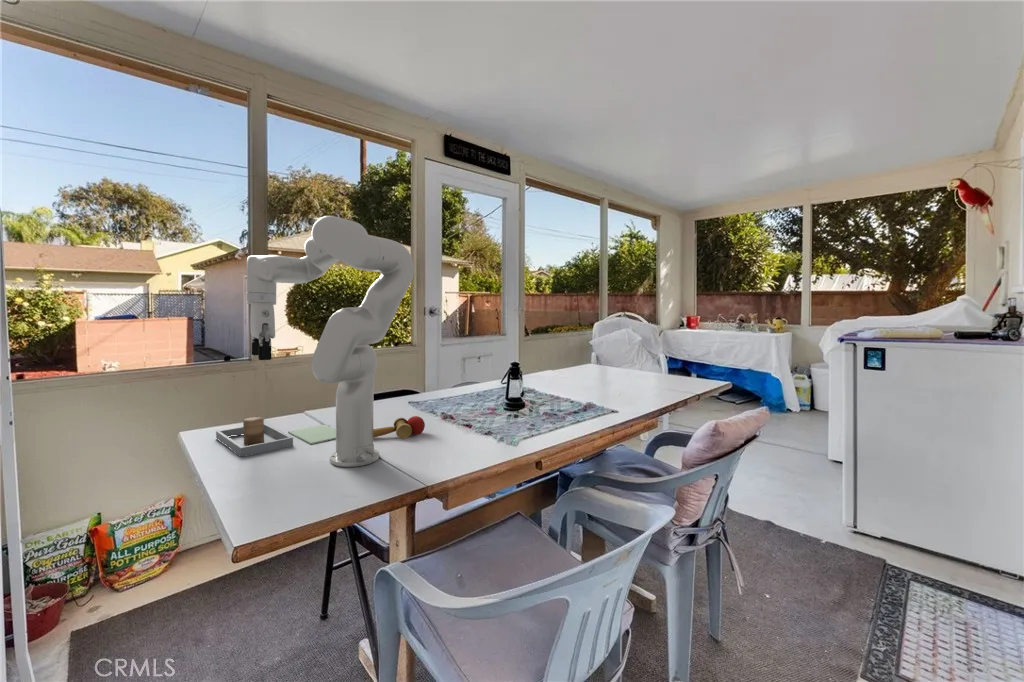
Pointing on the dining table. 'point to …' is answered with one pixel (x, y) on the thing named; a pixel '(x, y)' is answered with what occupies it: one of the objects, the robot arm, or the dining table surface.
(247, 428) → the brown wooden cylinder
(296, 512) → the dining table surface
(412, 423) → the kendama
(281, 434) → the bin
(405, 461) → the dining table surface
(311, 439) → the pad
